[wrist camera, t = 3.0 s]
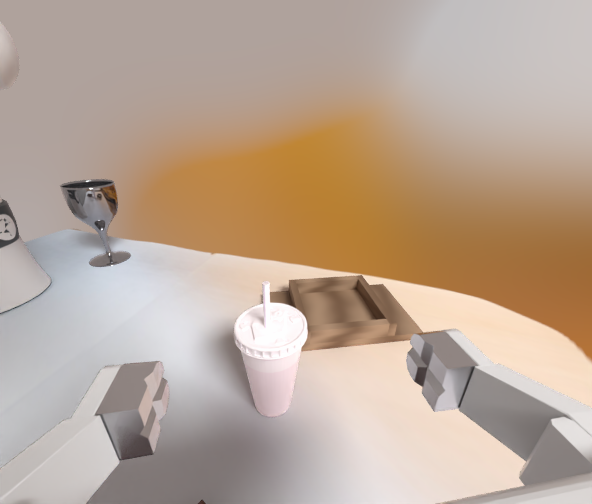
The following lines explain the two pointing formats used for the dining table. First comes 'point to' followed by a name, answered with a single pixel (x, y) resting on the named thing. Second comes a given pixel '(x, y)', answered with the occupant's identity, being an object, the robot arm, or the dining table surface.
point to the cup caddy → (347, 312)
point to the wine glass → (95, 213)
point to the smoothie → (271, 351)
